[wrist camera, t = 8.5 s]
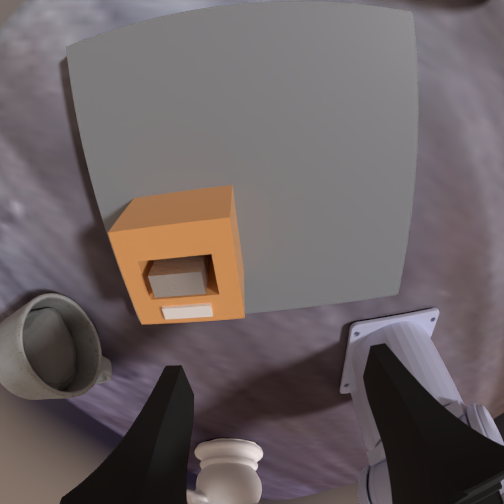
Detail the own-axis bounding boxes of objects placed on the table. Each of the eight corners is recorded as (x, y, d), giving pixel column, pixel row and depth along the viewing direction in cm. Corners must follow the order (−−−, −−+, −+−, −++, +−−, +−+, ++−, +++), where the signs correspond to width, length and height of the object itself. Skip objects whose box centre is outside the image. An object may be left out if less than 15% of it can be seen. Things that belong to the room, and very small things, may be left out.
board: (391, 284, 21) (397, 294, 20) (143, 309, 22) (139, 320, 21) (402, 14, 12) (412, 12, 11) (76, 47, 13) (65, 47, 12)
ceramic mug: (6, 305, 22) (-32, 367, 15) (51, 271, 20) (2, 346, 13) (82, 377, 27) (62, 441, 20) (137, 360, 25) (119, 437, 19)
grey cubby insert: (213, 243, 18) (205, 293, 14) (172, 248, 18) (155, 297, 14) (209, 224, 17) (200, 271, 13) (167, 229, 17) (147, 276, 13)
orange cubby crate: (232, 184, 16) (229, 219, 13) (243, 272, 19) (244, 320, 15) (133, 198, 16) (106, 234, 13) (156, 279, 19) (140, 327, 15)
